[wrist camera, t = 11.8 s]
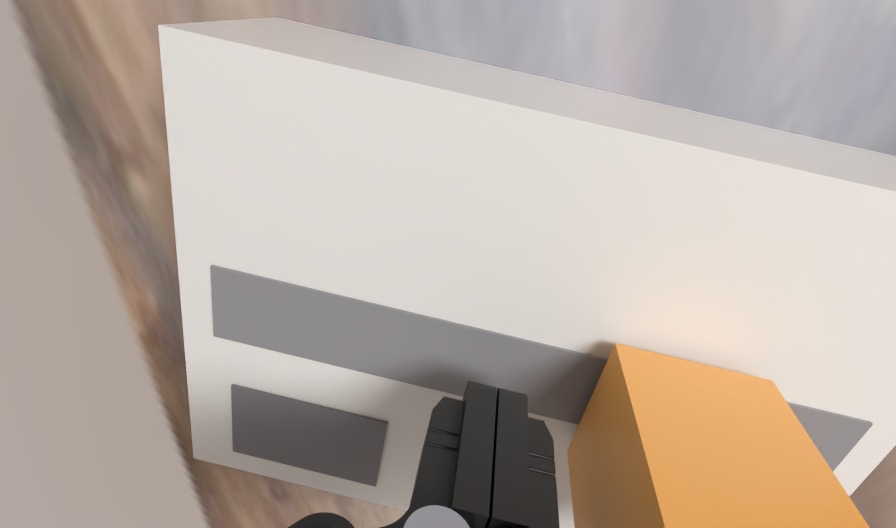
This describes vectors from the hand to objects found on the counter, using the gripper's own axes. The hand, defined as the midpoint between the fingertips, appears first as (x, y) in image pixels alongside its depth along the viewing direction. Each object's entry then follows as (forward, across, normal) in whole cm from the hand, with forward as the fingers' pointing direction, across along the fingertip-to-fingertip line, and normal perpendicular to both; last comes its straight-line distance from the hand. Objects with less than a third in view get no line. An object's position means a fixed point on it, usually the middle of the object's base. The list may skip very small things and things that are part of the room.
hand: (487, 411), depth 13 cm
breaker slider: (+1, -5, 0) cm, 5 cm away
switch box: (+8, -1, 0) cm, 8 cm away
